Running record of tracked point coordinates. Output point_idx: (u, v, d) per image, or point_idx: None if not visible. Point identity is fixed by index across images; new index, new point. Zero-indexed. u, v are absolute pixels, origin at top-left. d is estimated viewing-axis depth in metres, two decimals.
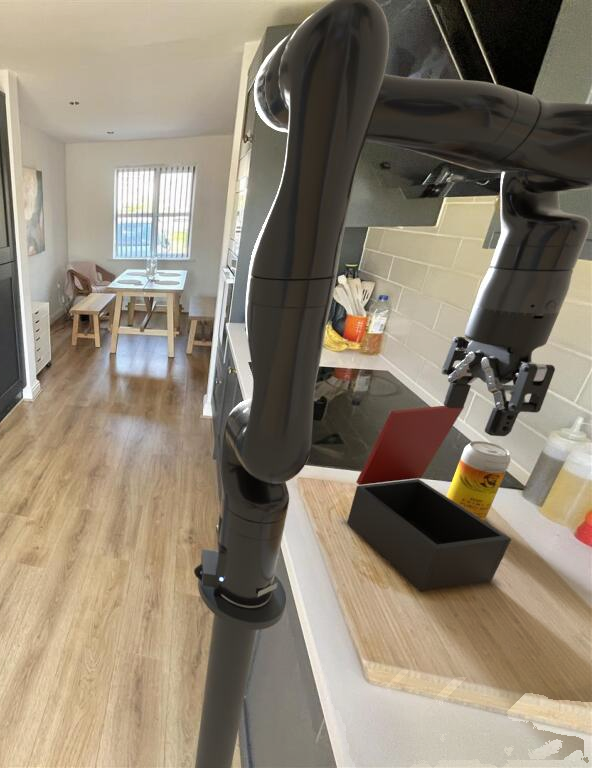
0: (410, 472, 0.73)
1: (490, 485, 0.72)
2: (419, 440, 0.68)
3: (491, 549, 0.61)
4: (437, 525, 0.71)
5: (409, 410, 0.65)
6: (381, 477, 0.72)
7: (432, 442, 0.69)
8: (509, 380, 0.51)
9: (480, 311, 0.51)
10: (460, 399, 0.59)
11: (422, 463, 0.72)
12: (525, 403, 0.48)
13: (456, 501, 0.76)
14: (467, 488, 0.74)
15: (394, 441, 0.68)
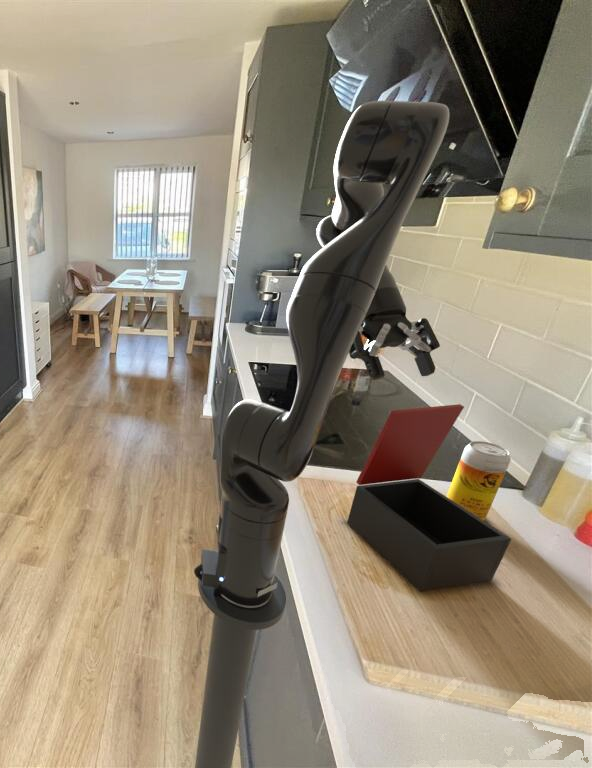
0: (410, 472, 0.73)
1: (490, 485, 0.72)
2: (419, 440, 0.68)
3: (491, 549, 0.61)
4: (437, 525, 0.71)
5: (409, 410, 0.65)
6: (381, 477, 0.72)
7: (432, 442, 0.69)
8: None
9: (390, 289, 0.71)
10: None
11: (422, 463, 0.72)
12: None
13: (456, 501, 0.76)
14: (467, 488, 0.74)
15: (394, 441, 0.68)
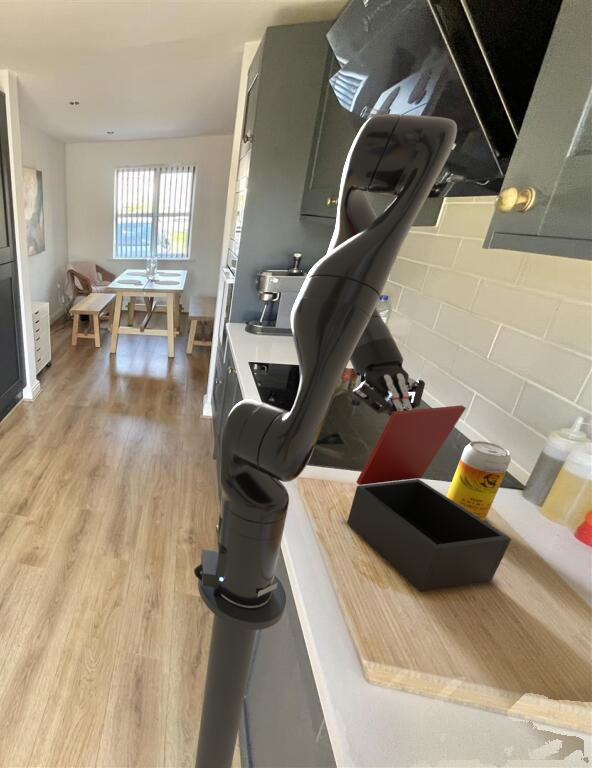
0: (410, 472, 0.73)
1: (490, 485, 0.72)
2: (420, 441, 0.68)
3: (491, 549, 0.61)
4: (437, 525, 0.71)
5: (411, 411, 0.64)
6: (381, 477, 0.72)
7: (433, 443, 0.69)
8: None
9: (388, 340, 0.72)
10: None
11: (422, 463, 0.72)
12: (410, 402, 0.71)
13: (456, 501, 0.76)
14: (468, 488, 0.74)
15: (395, 442, 0.68)
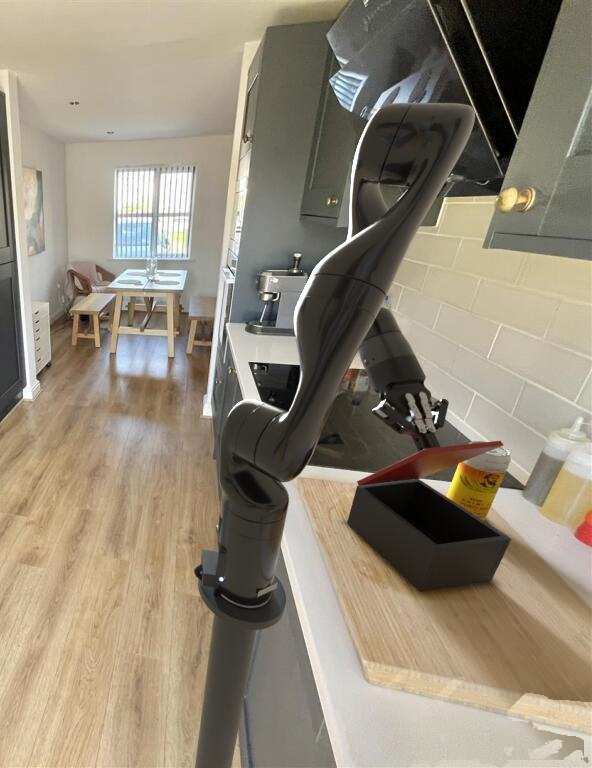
0: (413, 477, 0.72)
1: (490, 485, 0.72)
2: (438, 463, 0.65)
3: (491, 549, 0.61)
4: (437, 525, 0.71)
5: (445, 449, 0.59)
6: (383, 481, 0.72)
7: (450, 463, 0.66)
8: None
9: (409, 357, 0.68)
10: None
11: (428, 472, 0.71)
12: None
13: (456, 501, 0.76)
14: (468, 488, 0.74)
15: (413, 465, 0.65)
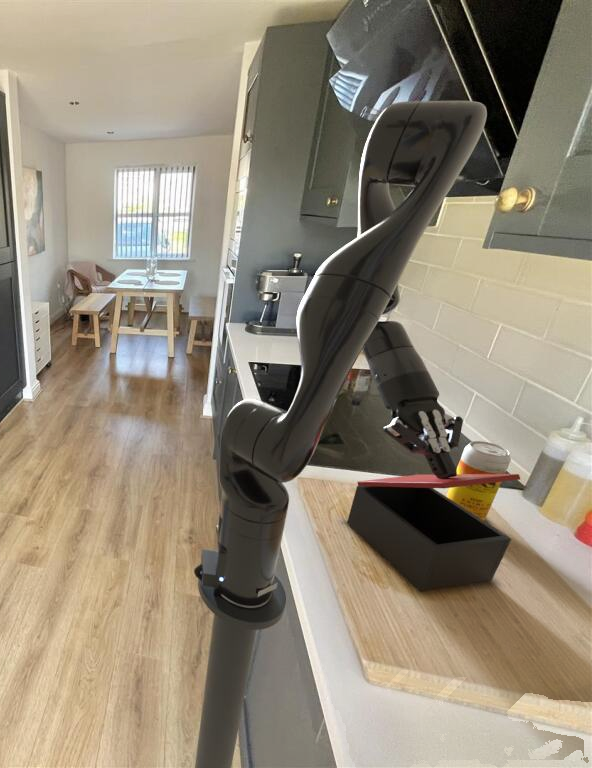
0: None
1: (490, 485, 0.72)
2: None
3: (491, 549, 0.61)
4: (437, 525, 0.71)
5: (461, 483, 0.58)
6: None
7: None
8: None
9: (422, 373, 0.66)
10: None
11: None
12: (447, 441, 0.65)
13: (456, 501, 0.76)
14: (468, 488, 0.74)
15: None
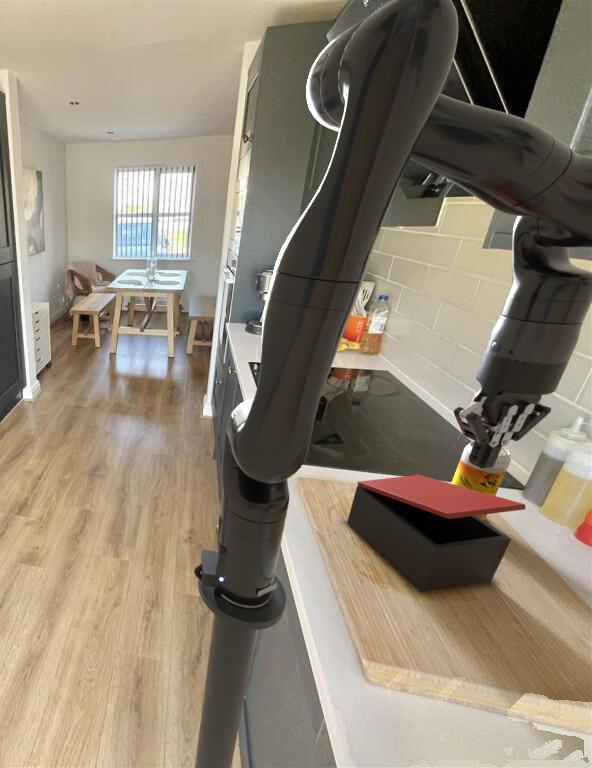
0: None
1: (490, 485, 0.72)
2: None
3: (491, 549, 0.61)
4: (437, 525, 0.71)
5: (466, 514, 0.57)
6: None
7: None
8: None
9: (561, 366, 0.48)
10: None
11: None
12: None
13: None
14: (468, 488, 0.74)
15: None
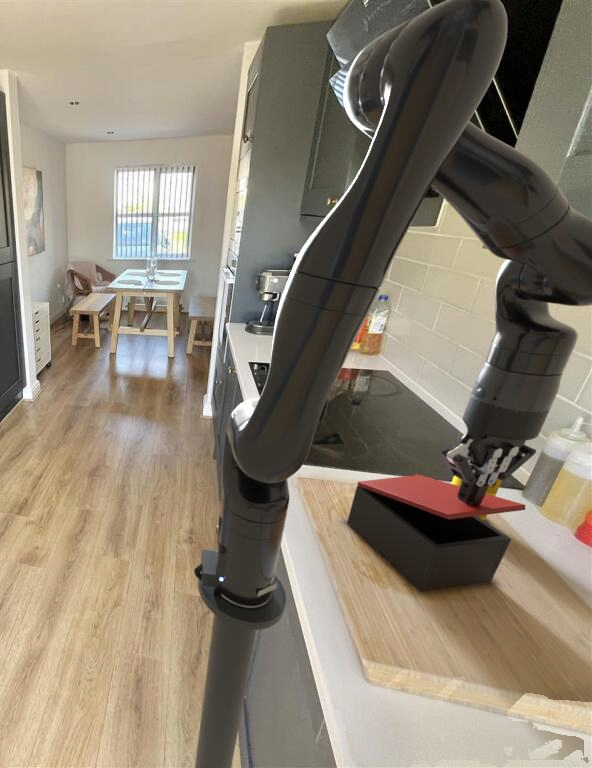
0: None
1: (490, 485, 0.72)
2: None
3: (491, 549, 0.61)
4: (437, 525, 0.71)
5: (466, 514, 0.57)
6: None
7: None
8: None
9: (542, 414, 0.50)
10: None
11: None
12: None
13: None
14: None
15: None
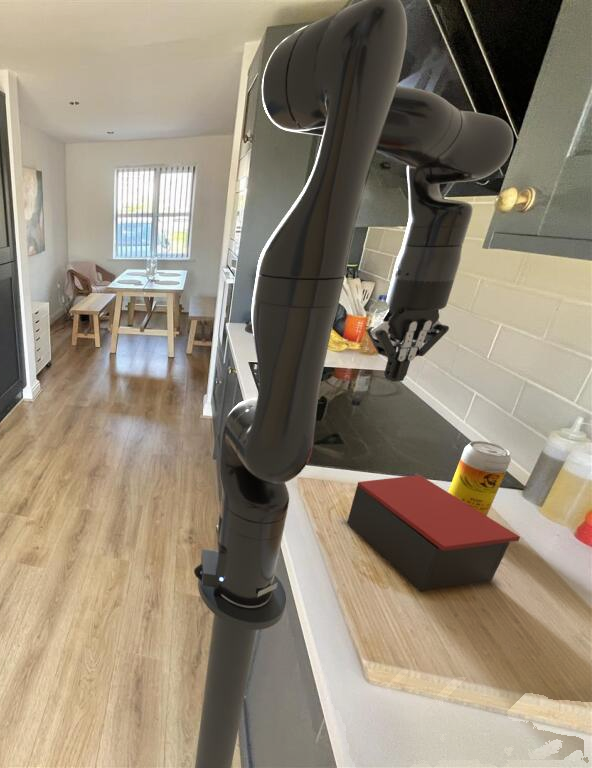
0: None
1: (490, 485, 0.72)
2: None
3: (491, 549, 0.61)
4: None
5: (461, 546, 0.58)
6: None
7: None
8: None
9: (446, 284, 0.58)
10: None
11: None
12: None
13: None
14: (468, 488, 0.74)
15: None
